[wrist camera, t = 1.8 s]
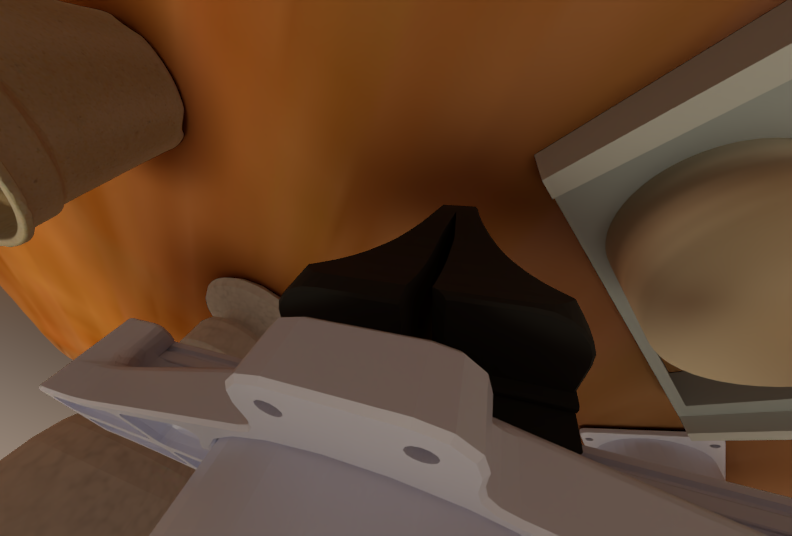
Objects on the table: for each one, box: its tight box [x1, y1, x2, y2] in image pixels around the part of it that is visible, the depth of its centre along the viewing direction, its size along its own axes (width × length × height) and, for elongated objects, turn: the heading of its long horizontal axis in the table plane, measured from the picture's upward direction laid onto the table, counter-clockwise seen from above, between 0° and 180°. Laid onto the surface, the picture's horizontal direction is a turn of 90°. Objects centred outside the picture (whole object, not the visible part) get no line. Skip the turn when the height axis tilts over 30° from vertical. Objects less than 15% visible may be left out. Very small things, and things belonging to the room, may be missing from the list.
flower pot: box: [0, 0, 184, 247], centre depth 12 cm, size 9×9×9 cm
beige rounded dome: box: [605, 138, 792, 387], centre depth 8 cm, size 6×6×4 cm
